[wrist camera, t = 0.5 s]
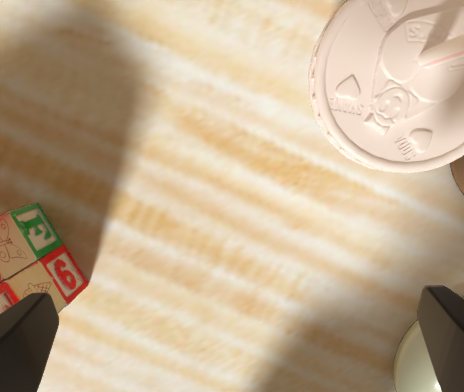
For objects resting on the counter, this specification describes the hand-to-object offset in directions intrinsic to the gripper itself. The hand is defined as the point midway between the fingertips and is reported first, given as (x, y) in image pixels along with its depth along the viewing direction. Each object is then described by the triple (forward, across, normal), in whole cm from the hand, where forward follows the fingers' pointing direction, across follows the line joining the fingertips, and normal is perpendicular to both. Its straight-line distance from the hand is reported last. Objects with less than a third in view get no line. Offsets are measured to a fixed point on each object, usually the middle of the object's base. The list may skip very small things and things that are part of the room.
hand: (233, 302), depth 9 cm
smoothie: (+15, -6, -1) cm, 16 cm away
